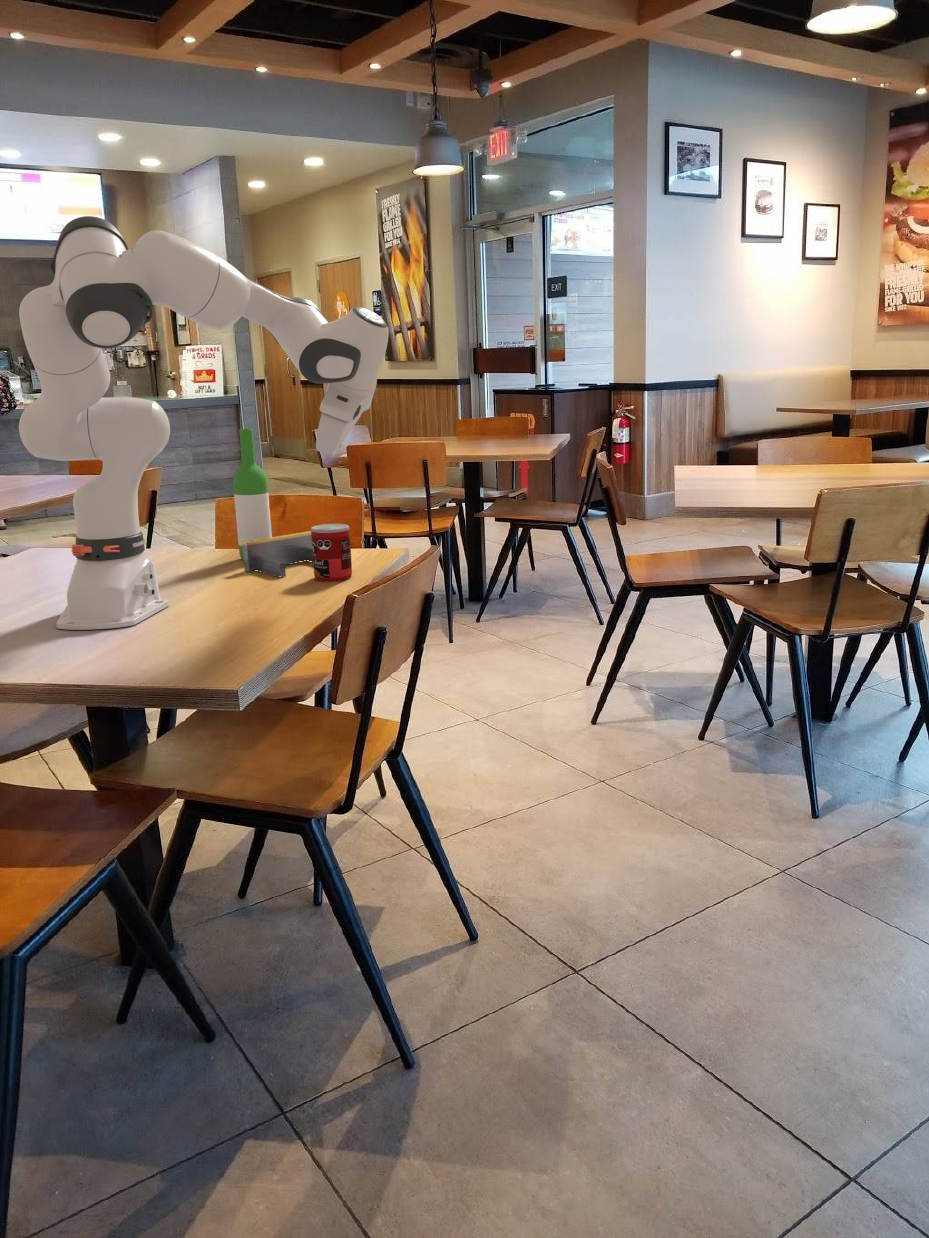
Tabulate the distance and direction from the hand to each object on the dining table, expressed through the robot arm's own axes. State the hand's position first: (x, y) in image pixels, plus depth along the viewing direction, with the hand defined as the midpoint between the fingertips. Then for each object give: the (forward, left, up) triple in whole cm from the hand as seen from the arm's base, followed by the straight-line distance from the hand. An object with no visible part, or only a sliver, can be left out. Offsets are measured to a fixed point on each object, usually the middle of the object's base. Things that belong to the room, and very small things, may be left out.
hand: (333, 453), depth 190 cm
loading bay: (+17, +12, -27) cm, 33 cm away
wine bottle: (+29, +22, -27) cm, 45 cm away
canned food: (+5, +2, -27) cm, 27 cm away
